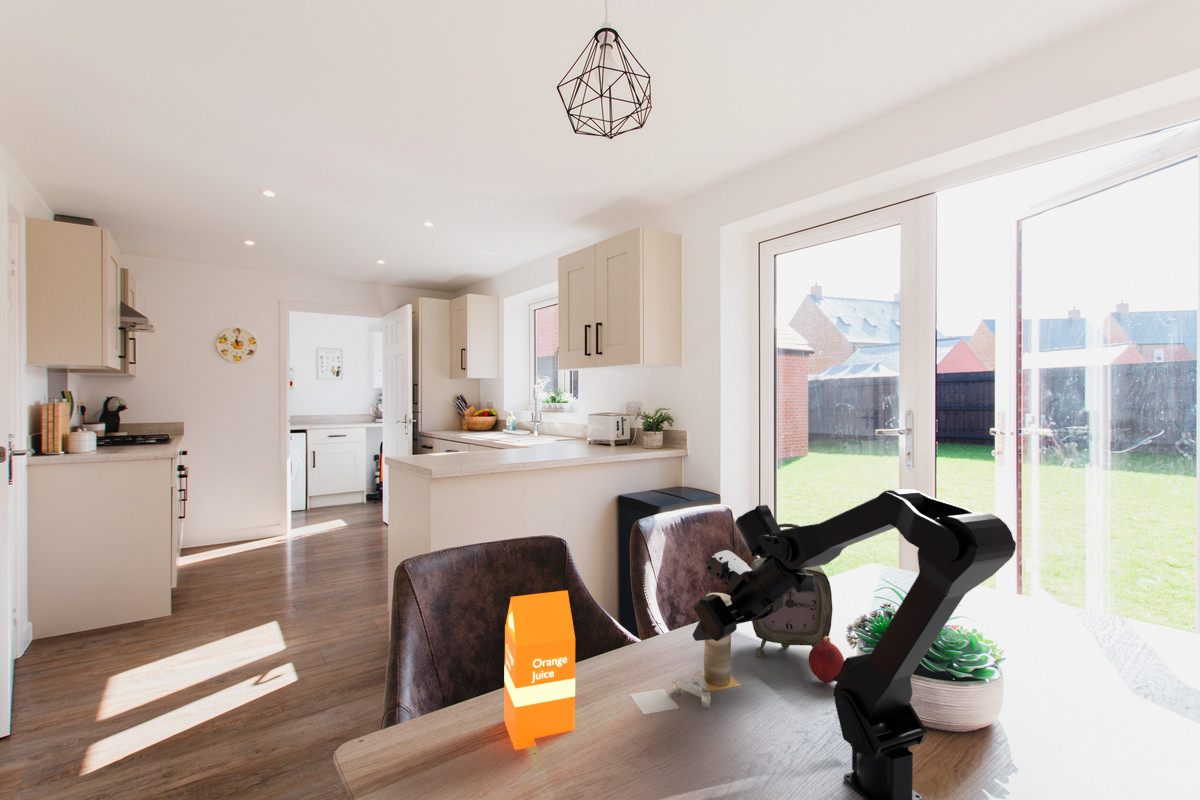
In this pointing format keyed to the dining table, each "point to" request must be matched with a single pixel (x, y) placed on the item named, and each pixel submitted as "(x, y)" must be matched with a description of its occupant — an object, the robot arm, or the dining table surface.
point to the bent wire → (694, 688)
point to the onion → (825, 661)
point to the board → (667, 698)
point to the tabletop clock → (798, 613)
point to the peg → (718, 655)
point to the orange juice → (539, 667)
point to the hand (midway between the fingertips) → (710, 630)
